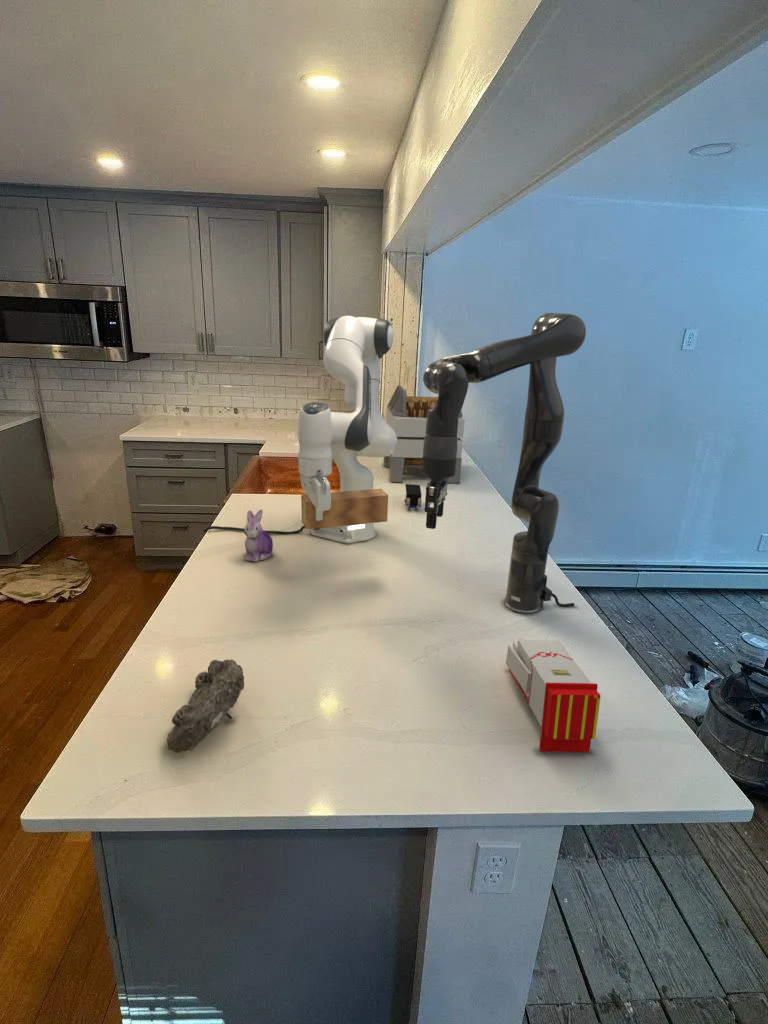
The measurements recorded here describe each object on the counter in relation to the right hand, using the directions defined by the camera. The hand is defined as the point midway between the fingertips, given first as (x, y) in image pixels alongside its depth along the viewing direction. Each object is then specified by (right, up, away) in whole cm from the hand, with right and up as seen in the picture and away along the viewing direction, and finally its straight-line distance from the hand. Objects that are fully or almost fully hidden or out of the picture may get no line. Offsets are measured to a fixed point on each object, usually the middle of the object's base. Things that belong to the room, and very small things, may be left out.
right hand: (434, 521), depth 132 cm
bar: (-23, 0, +26) cm, 35 cm away
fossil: (-45, -37, -24) cm, 62 cm away
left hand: (-30, +1, +22) cm, 38 cm away
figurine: (-51, -12, +45) cm, 69 cm away
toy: (+21, -37, -16) cm, 45 cm away
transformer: (+5, +21, +143) cm, 145 cm away
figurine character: (0, +4, +96) cm, 96 cm away
